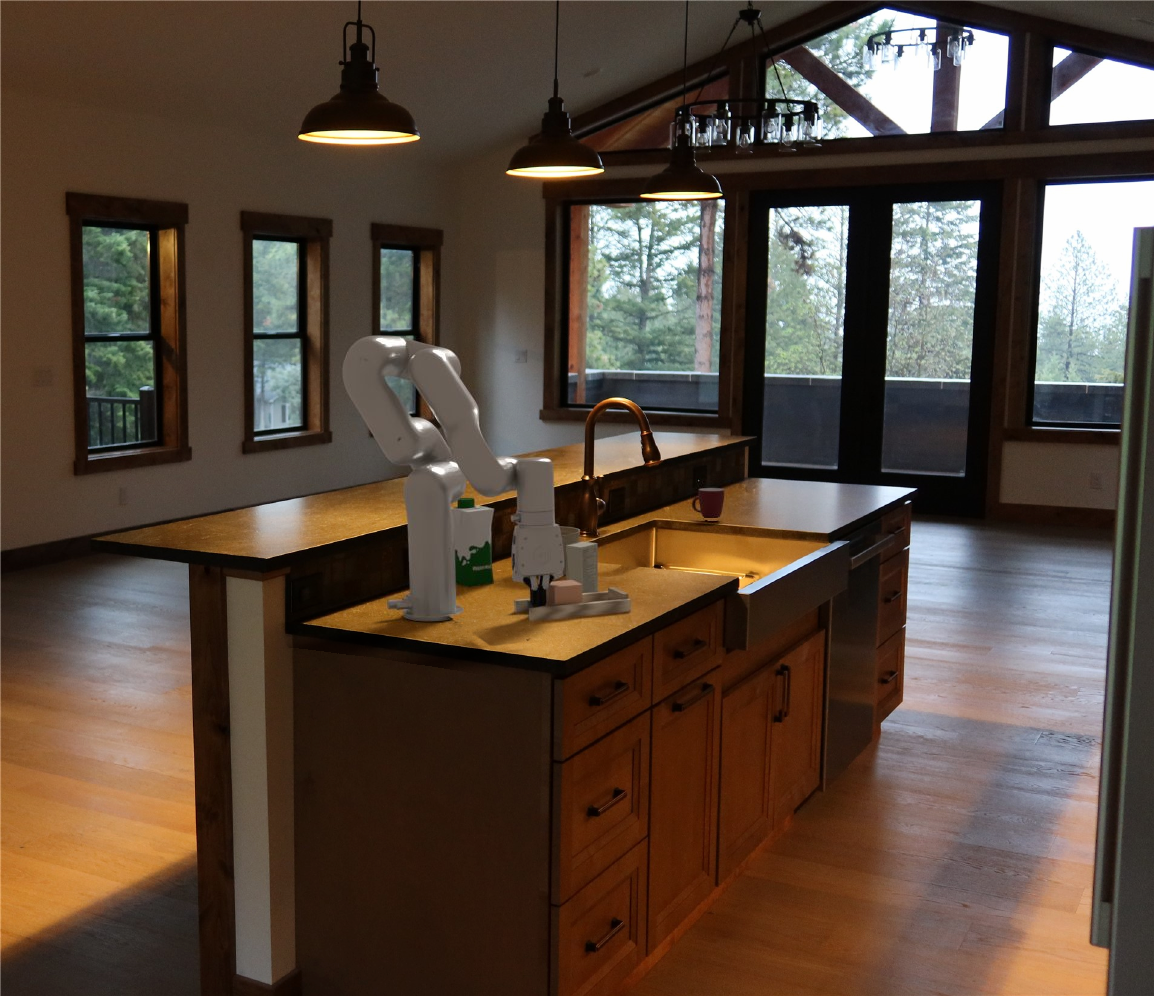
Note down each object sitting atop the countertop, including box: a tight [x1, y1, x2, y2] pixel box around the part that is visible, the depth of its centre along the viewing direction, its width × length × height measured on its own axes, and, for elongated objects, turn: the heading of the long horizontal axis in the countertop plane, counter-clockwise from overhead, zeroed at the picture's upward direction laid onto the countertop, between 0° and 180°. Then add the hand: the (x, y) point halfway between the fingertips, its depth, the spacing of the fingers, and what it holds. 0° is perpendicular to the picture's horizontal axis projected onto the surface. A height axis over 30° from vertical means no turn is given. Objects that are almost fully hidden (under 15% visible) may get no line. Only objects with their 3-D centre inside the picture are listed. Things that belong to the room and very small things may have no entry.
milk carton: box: [451, 497, 495, 588], centre depth 285 cm, size 9×9×20 cm
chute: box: [513, 586, 632, 622], centre depth 250 cm, size 22×10×4 cm, turn 113°
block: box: [546, 579, 582, 606], centre depth 250 cm, size 6×5×6 cm
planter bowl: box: [536, 525, 581, 578], centre depth 296 cm, size 16×16×11 cm
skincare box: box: [566, 541, 599, 593], centre depth 268 cm, size 6×4×12 cm
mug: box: [691, 487, 725, 519], centre depth 382 cm, size 11×8×10 cm
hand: (538, 607), depth 247 cm, fingers closed
